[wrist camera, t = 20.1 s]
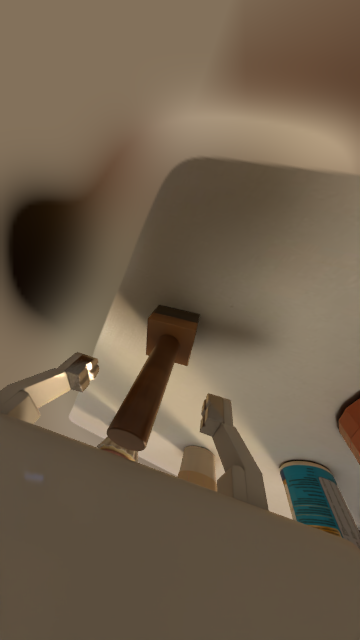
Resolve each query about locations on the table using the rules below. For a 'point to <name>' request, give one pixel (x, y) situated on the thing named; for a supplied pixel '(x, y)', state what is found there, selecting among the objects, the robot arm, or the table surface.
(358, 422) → the bowl
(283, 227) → the table surface
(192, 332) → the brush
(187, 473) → the coffee cup
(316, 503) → the beverage bottle
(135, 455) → the cupcake
